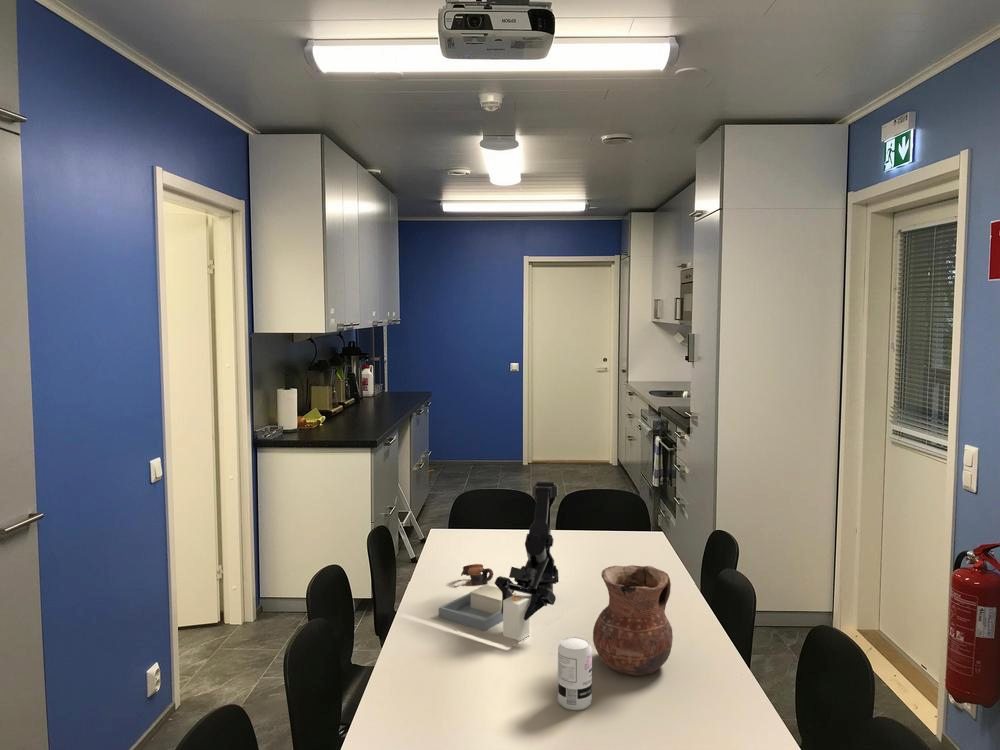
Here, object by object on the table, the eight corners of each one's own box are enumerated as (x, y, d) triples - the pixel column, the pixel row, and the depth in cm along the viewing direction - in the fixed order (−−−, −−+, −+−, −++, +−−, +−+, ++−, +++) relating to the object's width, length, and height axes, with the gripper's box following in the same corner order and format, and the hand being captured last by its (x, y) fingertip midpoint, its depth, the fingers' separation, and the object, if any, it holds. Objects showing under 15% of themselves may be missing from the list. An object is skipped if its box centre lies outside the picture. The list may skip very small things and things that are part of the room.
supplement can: (555, 695, 185) (555, 636, 184) (588, 693, 185) (588, 635, 184) (560, 712, 177) (560, 651, 176) (595, 710, 177) (595, 649, 176)
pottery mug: (458, 590, 259) (456, 566, 262) (468, 593, 267) (466, 570, 271) (491, 584, 256) (488, 560, 259) (500, 587, 264) (497, 564, 268)
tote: (482, 598, 249) (482, 587, 249) (526, 610, 238) (526, 598, 238) (438, 620, 231) (438, 607, 231) (484, 634, 221) (484, 621, 220)
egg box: (485, 599, 246) (485, 584, 245) (515, 607, 239) (515, 592, 238) (470, 607, 239) (470, 591, 239) (500, 615, 232) (500, 600, 232)
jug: (655, 691, 187) (656, 593, 185) (579, 670, 198) (579, 578, 196) (683, 657, 205) (684, 568, 203) (613, 640, 216) (613, 556, 215)
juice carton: (514, 632, 222) (514, 592, 221) (529, 637, 219) (529, 596, 218) (503, 638, 218) (503, 597, 217) (518, 643, 214) (518, 602, 214)
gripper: (497, 549, 225) (475, 596, 217) (550, 561, 214) (529, 610, 206) (512, 568, 232) (492, 614, 224) (564, 580, 221) (544, 628, 213)
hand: (513, 616), depth 217 cm, fingers open, 8 cm apart
